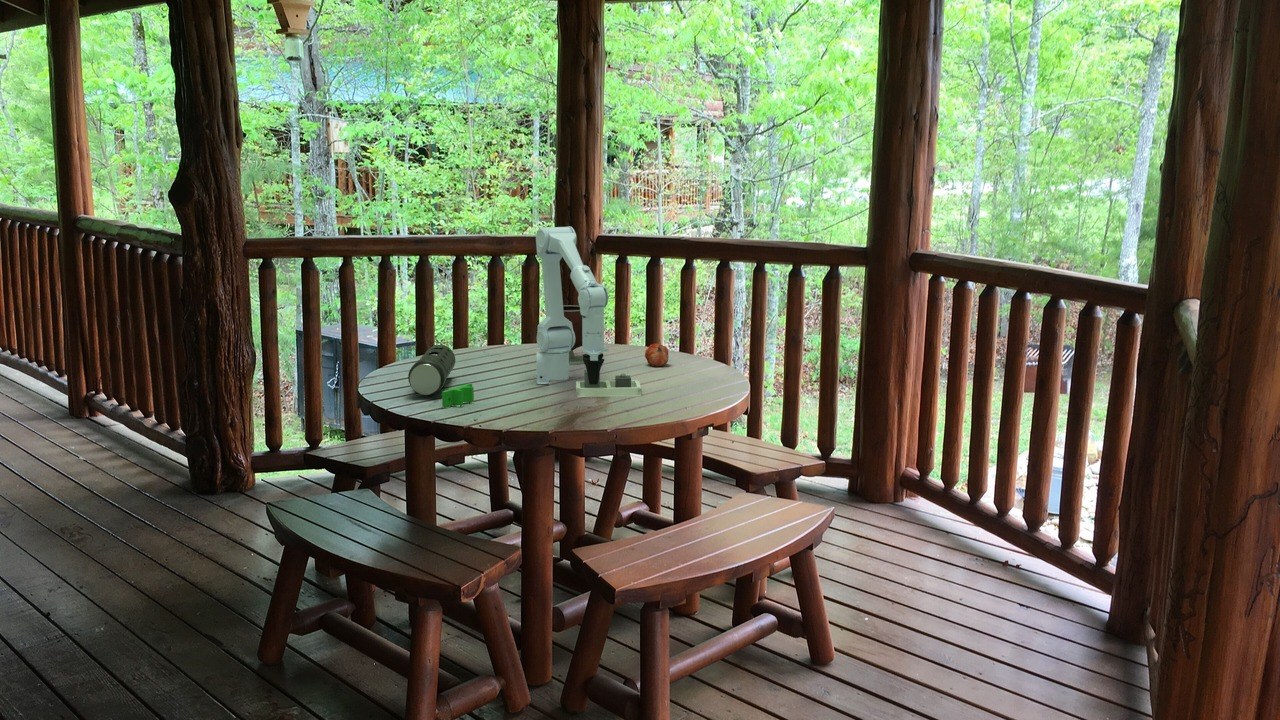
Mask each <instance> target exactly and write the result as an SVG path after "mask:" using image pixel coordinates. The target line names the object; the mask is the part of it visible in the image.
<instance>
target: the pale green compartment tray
mask: <svg viewBox="0 0 1280 720" xmlns="http://www.w3.org/2000/svg"><path fill="white" fill-rule="evenodd" d="M575 391H576V397H577V398H592V397H595V398H596V397H598V398H599V397H600V398H603V397H605V398H606V397H642V387H641V383H640V380H638V379H634V380H632V379H631V387H624V388H615V380H600V388H584V380H576V381H575Z"/></svg>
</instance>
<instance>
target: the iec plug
mask: <svg viewBox="0 0 1280 720" xmlns="http://www.w3.org/2000/svg"><path fill="white" fill-rule="evenodd" d="M583 374H584V380H583V381H584V388H600V381H601V377H600V376H601V373H600V374H599V380H598V384H589V380H588V373H587V369H586V368H585V369H584V371H583Z"/></svg>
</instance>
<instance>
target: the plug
mask: <svg viewBox="0 0 1280 720" xmlns="http://www.w3.org/2000/svg"><path fill="white" fill-rule="evenodd" d="M614 377H615V379H614V381H615V388H624V387H631V380H632V377H631V375H630V374H629V375H627V374H626V373H620V375H615V376H614Z"/></svg>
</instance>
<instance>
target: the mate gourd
mask: <svg viewBox="0 0 1280 720" xmlns="http://www.w3.org/2000/svg"><path fill="white" fill-rule="evenodd" d="M543 304H545V300H543ZM563 311H564V317H565V318H567V319H568V320H569V321H570V322H572V327H573V331H574V333H575V344H574V346H573V347H572V348H571V351H569V366H575V365H585V364H584V362H583V356H580V355H579V356H578V355H575V352H574V350H576V349H578V348H580V347H582V315H581V313H580V306H579V305H574V304H573V305H571V304H570V305H564V304H563ZM553 328H562V327H561V326H555V327H550V328H548V329H553Z"/></svg>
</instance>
